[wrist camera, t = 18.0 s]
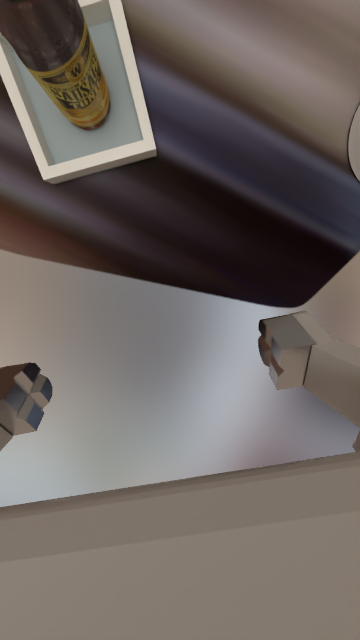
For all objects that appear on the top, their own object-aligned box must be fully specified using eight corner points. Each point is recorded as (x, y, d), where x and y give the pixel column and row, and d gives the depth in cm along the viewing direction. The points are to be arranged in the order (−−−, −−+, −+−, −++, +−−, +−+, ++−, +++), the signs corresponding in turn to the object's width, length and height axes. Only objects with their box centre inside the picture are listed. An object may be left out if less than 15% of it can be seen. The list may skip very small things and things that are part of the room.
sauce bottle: (86, 144, 30) (-43, 6, 11) (48, 93, 28) (-187, -179, 9) (125, 107, 29) (52, -117, 10) (88, 50, 26) (-88, -359, 8)
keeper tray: (120, 5, 26) (115, -22, 23) (156, 155, 31) (156, 148, 28) (-2, 42, 26) (-22, 20, 23) (54, 184, 31) (43, 180, 29)
